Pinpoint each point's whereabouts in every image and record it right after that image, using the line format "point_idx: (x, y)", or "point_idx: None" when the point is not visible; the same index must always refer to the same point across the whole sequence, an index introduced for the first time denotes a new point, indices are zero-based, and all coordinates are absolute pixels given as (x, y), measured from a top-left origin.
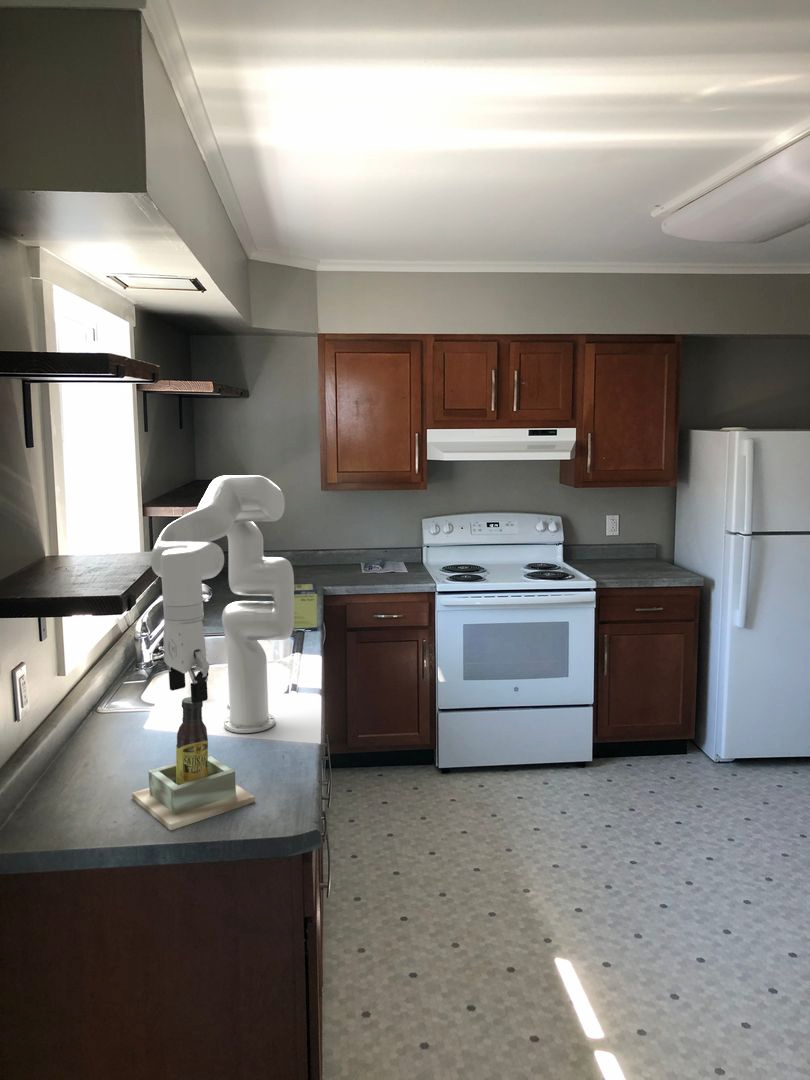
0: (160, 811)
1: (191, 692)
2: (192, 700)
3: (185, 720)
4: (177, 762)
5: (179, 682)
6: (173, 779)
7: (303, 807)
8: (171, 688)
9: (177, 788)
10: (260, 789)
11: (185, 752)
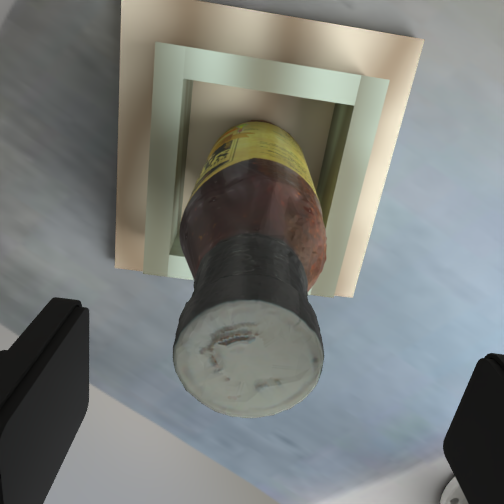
0: (228, 23)
1: (19, 354)
2: (46, 306)
3: (238, 240)
4: (265, 142)
5: (481, 454)
6: (332, 153)
7: (11, 315)
8: (496, 364)
9: (161, 61)
10: (173, 311)
11: (216, 164)
